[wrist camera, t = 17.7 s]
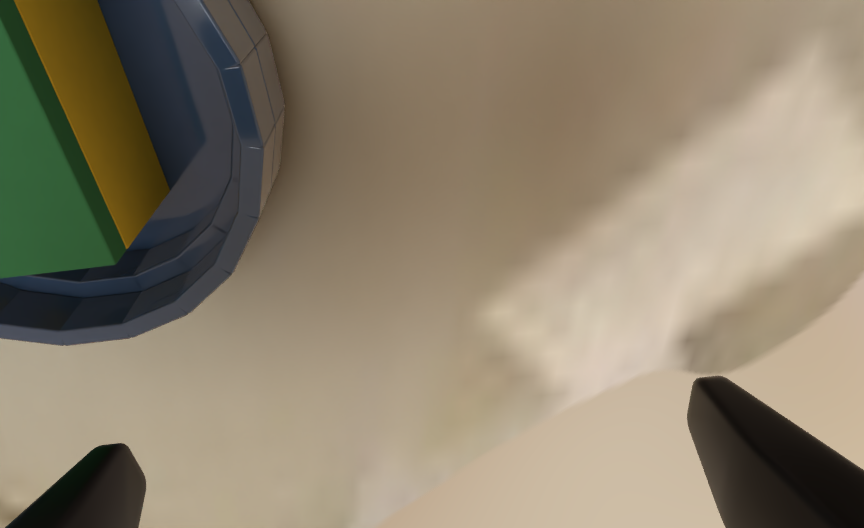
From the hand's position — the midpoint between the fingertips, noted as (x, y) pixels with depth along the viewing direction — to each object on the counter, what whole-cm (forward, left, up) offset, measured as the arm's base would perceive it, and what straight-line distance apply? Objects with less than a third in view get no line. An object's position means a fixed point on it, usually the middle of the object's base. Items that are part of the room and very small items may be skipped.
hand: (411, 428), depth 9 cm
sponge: (+10, -3, -12) cm, 16 cm away
